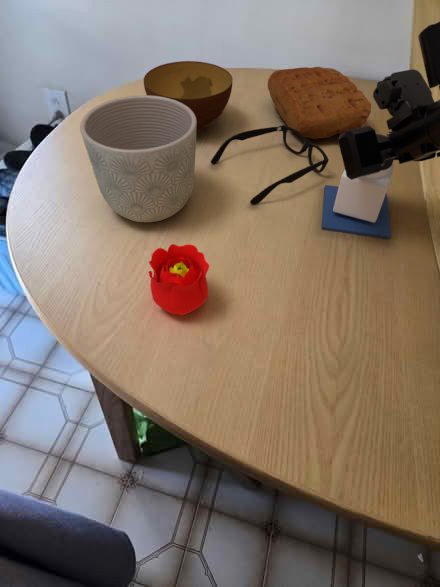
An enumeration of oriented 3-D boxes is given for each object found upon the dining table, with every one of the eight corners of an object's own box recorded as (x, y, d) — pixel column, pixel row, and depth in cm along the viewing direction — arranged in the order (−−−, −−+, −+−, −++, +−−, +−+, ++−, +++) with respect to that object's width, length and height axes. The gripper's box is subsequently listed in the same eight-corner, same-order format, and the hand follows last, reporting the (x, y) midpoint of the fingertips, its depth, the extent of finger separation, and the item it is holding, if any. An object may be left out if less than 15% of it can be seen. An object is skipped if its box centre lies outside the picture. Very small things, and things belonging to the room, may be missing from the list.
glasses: (332, 184, 80) (339, 160, 76) (253, 208, 74) (256, 183, 70) (282, 143, 89) (286, 120, 86) (207, 161, 83) (208, 137, 79)
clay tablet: (261, 101, 100) (265, 65, 94) (329, 94, 103) (336, 59, 97) (295, 150, 86) (301, 112, 80) (371, 141, 89) (383, 103, 83)
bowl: (180, 157, 84) (177, 107, 76) (133, 122, 93) (126, 74, 85) (247, 130, 91) (250, 82, 84) (198, 100, 100) (197, 54, 92)
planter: (158, 251, 66) (147, 165, 55) (79, 213, 72) (54, 128, 61) (217, 196, 76) (218, 113, 64) (143, 166, 82) (132, 85, 70)
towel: (386, 195, 77) (387, 192, 76) (389, 239, 69) (390, 236, 69) (324, 187, 78) (325, 184, 78) (321, 229, 70) (322, 226, 70)
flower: (143, 314, 58) (135, 273, 52) (167, 275, 63) (162, 234, 57) (196, 330, 56) (195, 290, 50) (217, 289, 61) (217, 249, 55)
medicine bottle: (383, 200, 73) (406, 134, 65) (375, 224, 69) (398, 157, 60) (342, 189, 75) (359, 124, 66) (332, 212, 71) (348, 146, 62)
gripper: (487, 46, 54) (401, 98, 69) (365, 68, 49) (301, 119, 64) (505, 134, 55) (417, 166, 70) (388, 164, 50) (320, 192, 65)
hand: (365, 159), depth 67 cm, fingers closed on medicine bottle, 6 cm apart
